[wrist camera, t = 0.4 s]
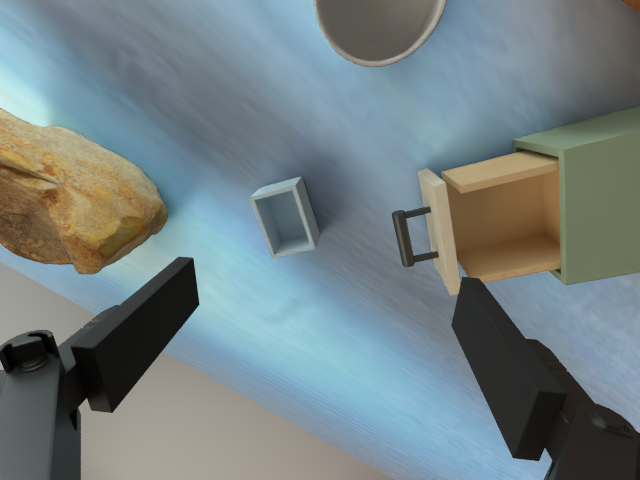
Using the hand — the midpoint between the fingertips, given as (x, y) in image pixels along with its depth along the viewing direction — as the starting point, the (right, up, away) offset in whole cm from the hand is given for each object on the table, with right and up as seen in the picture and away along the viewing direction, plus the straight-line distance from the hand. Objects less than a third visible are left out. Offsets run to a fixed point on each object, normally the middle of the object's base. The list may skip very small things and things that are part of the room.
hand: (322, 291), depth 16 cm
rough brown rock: (-32, +9, +28) cm, 43 cm away
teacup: (+5, +27, +17) cm, 32 cm away
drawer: (+17, +6, +23) cm, 29 cm away
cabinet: (+30, +9, +21) cm, 38 cm away
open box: (-4, +6, +26) cm, 27 cm away
